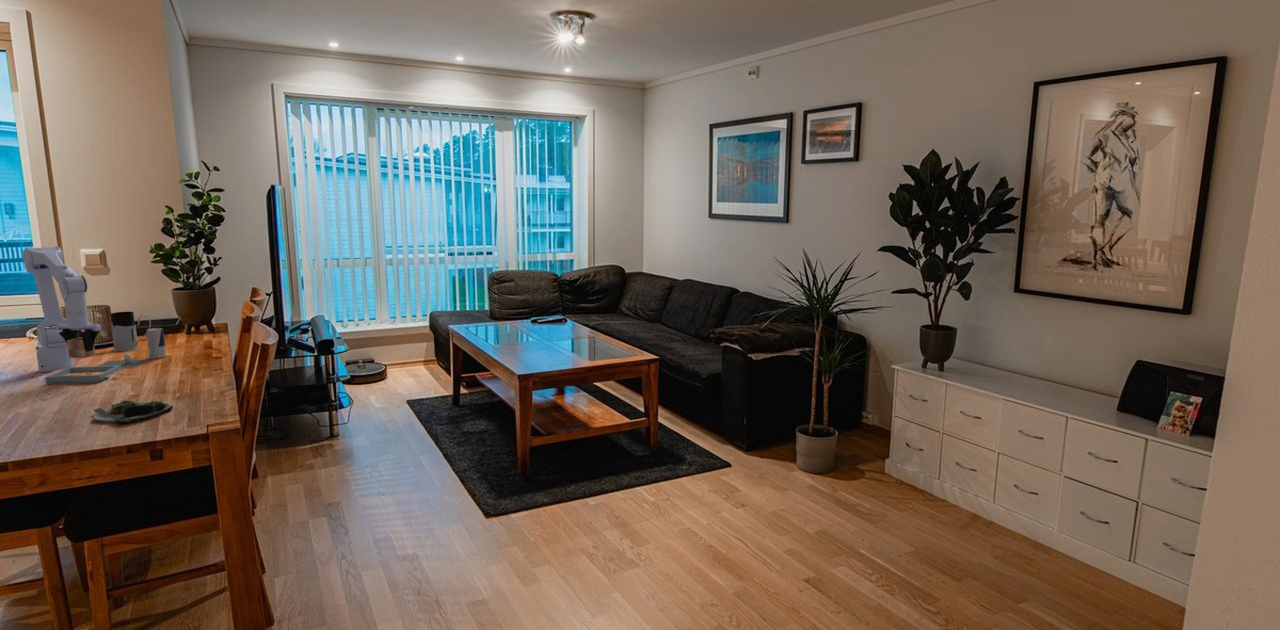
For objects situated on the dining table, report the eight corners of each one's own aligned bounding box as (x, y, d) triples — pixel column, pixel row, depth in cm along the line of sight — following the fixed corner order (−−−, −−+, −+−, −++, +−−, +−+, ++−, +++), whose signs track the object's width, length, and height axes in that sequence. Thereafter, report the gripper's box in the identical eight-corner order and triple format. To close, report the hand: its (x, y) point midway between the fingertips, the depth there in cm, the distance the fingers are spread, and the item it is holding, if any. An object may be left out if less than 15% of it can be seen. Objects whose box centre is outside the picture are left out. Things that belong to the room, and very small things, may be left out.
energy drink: (169, 358, 267) (166, 328, 265) (159, 361, 262) (155, 330, 260) (157, 357, 267) (153, 327, 265) (146, 361, 262) (142, 330, 260)
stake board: (88, 372, 245) (86, 360, 244) (109, 363, 259) (108, 351, 258) (132, 370, 248) (131, 358, 247) (151, 361, 261) (150, 350, 261)
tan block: (69, 357, 234) (66, 340, 233) (85, 353, 241) (83, 336, 240) (83, 358, 234) (80, 340, 233) (99, 353, 241) (97, 336, 240)
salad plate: (70, 424, 193) (67, 408, 192) (124, 405, 210) (122, 390, 209) (133, 427, 190) (131, 411, 190) (182, 408, 208) (180, 393, 207)
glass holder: (119, 347, 285) (114, 311, 282) (158, 345, 288) (154, 310, 285) (108, 352, 276) (104, 315, 274) (149, 350, 280) (144, 314, 277)
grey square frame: (46, 384, 230) (45, 377, 229) (70, 373, 243) (69, 367, 243) (100, 382, 233) (99, 375, 233) (122, 371, 246) (121, 365, 246)
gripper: (106, 310, 238) (111, 348, 240) (66, 309, 238) (71, 347, 241) (89, 313, 231) (94, 353, 233) (48, 312, 231) (53, 352, 234)
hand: (81, 350), depth 236 cm, fingers closed on tan block, 5 cm apart
